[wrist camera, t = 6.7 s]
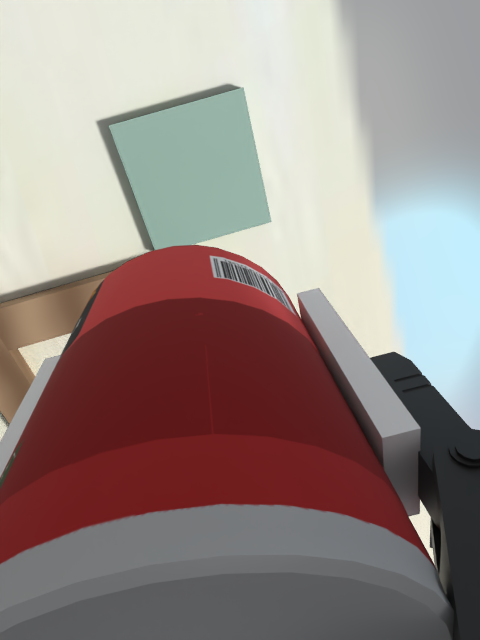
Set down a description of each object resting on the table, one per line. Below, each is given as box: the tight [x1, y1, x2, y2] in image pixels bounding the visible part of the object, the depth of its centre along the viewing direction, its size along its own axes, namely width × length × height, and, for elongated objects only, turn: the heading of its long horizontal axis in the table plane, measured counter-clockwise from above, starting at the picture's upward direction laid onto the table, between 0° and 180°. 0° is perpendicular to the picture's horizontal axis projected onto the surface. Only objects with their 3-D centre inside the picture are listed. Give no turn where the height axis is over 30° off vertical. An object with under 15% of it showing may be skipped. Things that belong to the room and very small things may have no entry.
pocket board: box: [0, 271, 113, 424], centre depth 34 cm, size 18×18×1 cm
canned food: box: [0, 245, 454, 640], centre depth 11 cm, size 8×8×11 cm
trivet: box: [109, 88, 271, 250], centre depth 28 cm, size 9×9×1 cm
